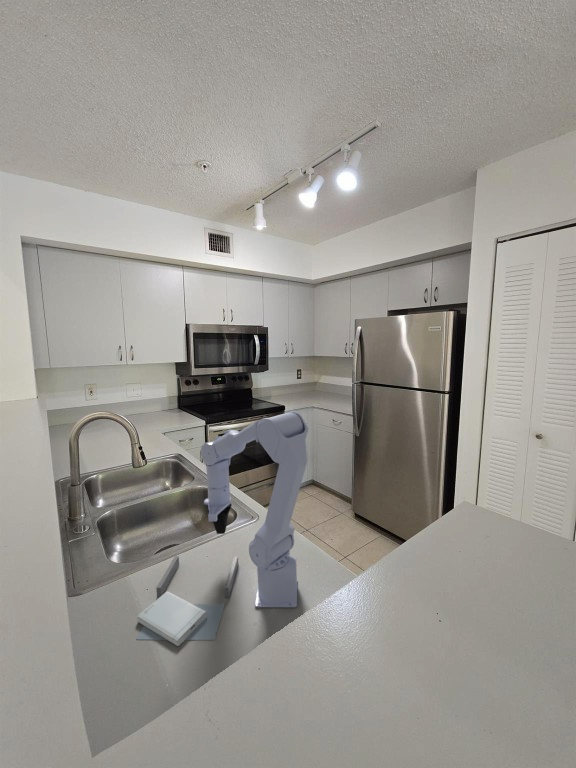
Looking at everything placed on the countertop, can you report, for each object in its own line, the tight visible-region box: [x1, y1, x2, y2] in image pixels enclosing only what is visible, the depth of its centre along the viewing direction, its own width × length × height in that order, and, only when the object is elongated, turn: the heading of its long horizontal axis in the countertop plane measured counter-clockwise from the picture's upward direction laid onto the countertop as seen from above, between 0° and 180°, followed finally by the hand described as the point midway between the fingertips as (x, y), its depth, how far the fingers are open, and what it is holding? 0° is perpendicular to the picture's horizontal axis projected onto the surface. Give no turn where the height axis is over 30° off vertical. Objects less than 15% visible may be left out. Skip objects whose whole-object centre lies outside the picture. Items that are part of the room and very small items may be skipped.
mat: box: [136, 603, 225, 641], centre depth 70 cm, size 16×9×1 cm, turn 88°
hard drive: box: [136, 591, 207, 647], centre depth 70 cm, size 2×8×12 cm
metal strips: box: [155, 555, 239, 599], centre depth 82 cm, size 17×12×2 cm
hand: (221, 532), depth 88 cm, fingers closed
